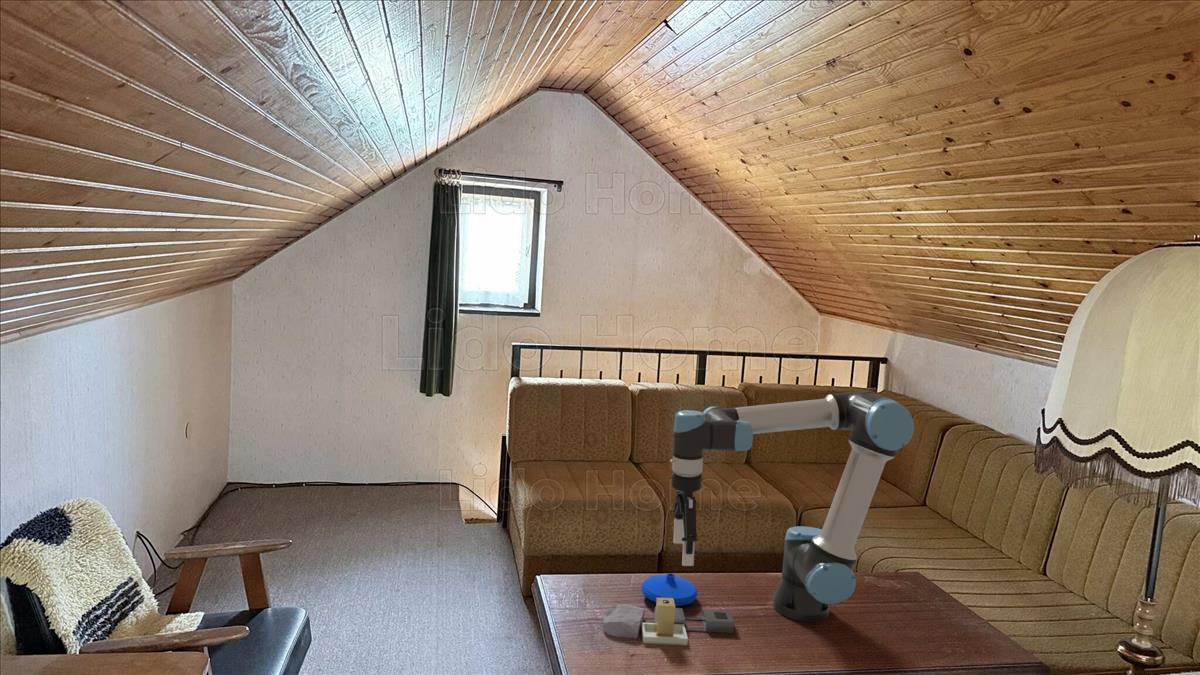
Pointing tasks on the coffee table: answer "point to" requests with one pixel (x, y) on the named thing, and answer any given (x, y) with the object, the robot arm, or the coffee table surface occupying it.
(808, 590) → the robot arm
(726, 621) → the rack rail
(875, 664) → the coffee table surface
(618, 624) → the stone block
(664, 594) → the blue funnel disc
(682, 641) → the parts tray
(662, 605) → the wooden drawer with knob
